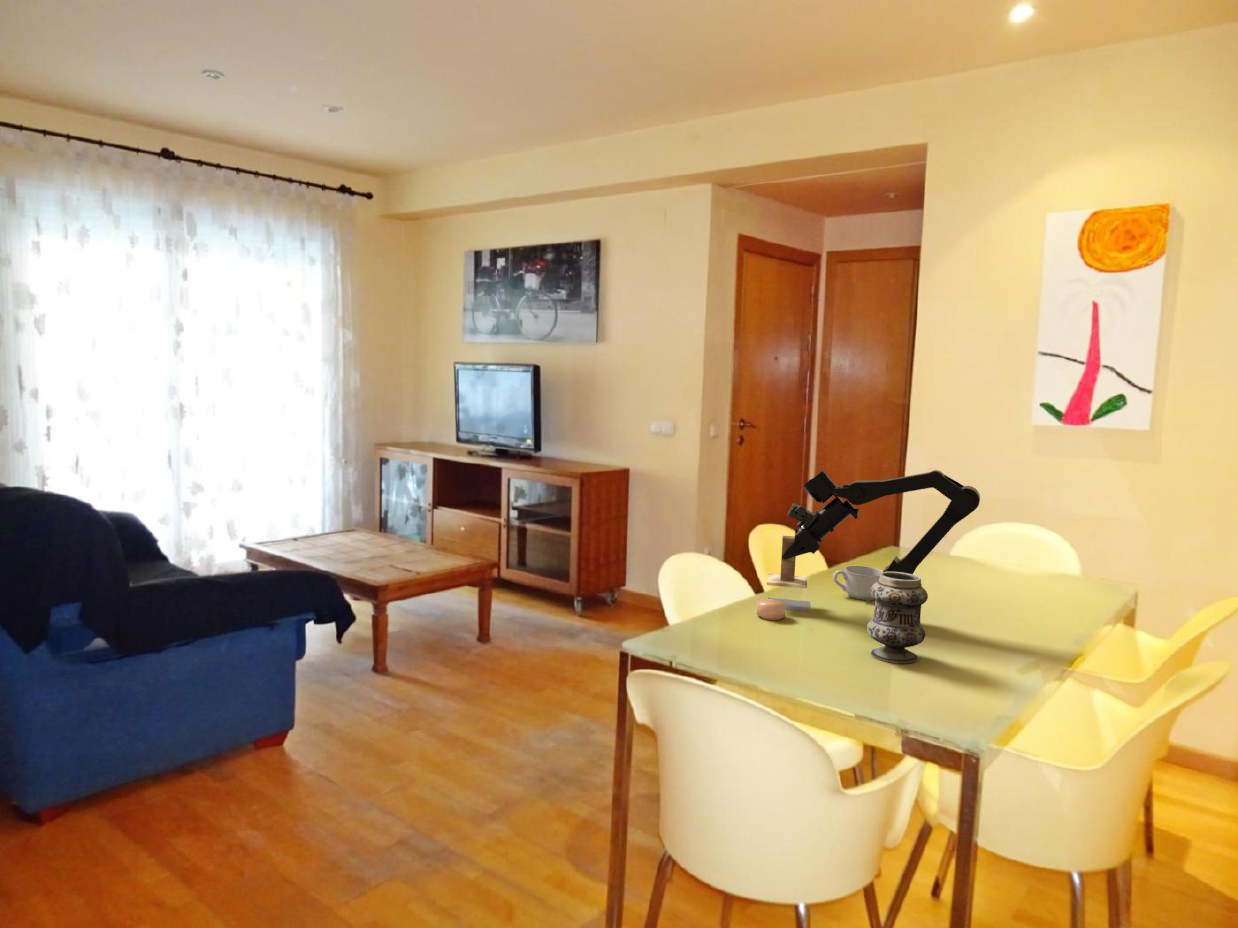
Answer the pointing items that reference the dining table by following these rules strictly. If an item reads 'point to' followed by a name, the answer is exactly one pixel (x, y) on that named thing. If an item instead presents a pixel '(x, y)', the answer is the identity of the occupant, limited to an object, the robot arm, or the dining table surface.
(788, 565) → the brown wooden post
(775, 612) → the pink rounded disc
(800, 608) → the rubber mat
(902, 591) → the apothecary jar
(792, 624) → the dining table surface
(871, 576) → the teacup
